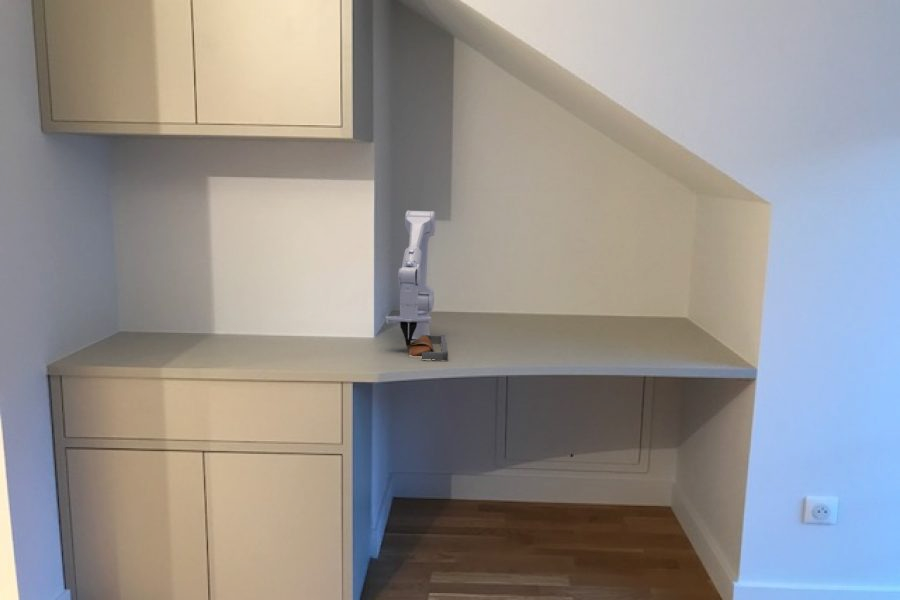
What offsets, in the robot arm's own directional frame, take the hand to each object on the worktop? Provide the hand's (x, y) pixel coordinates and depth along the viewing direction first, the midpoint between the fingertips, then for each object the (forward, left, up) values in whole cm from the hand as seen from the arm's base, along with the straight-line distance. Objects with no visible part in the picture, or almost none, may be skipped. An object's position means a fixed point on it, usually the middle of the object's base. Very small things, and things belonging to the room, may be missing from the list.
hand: (408, 345), depth 228 cm
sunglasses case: (0, +4, -3) cm, 5 cm away
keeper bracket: (0, +8, -2) cm, 9 cm away
